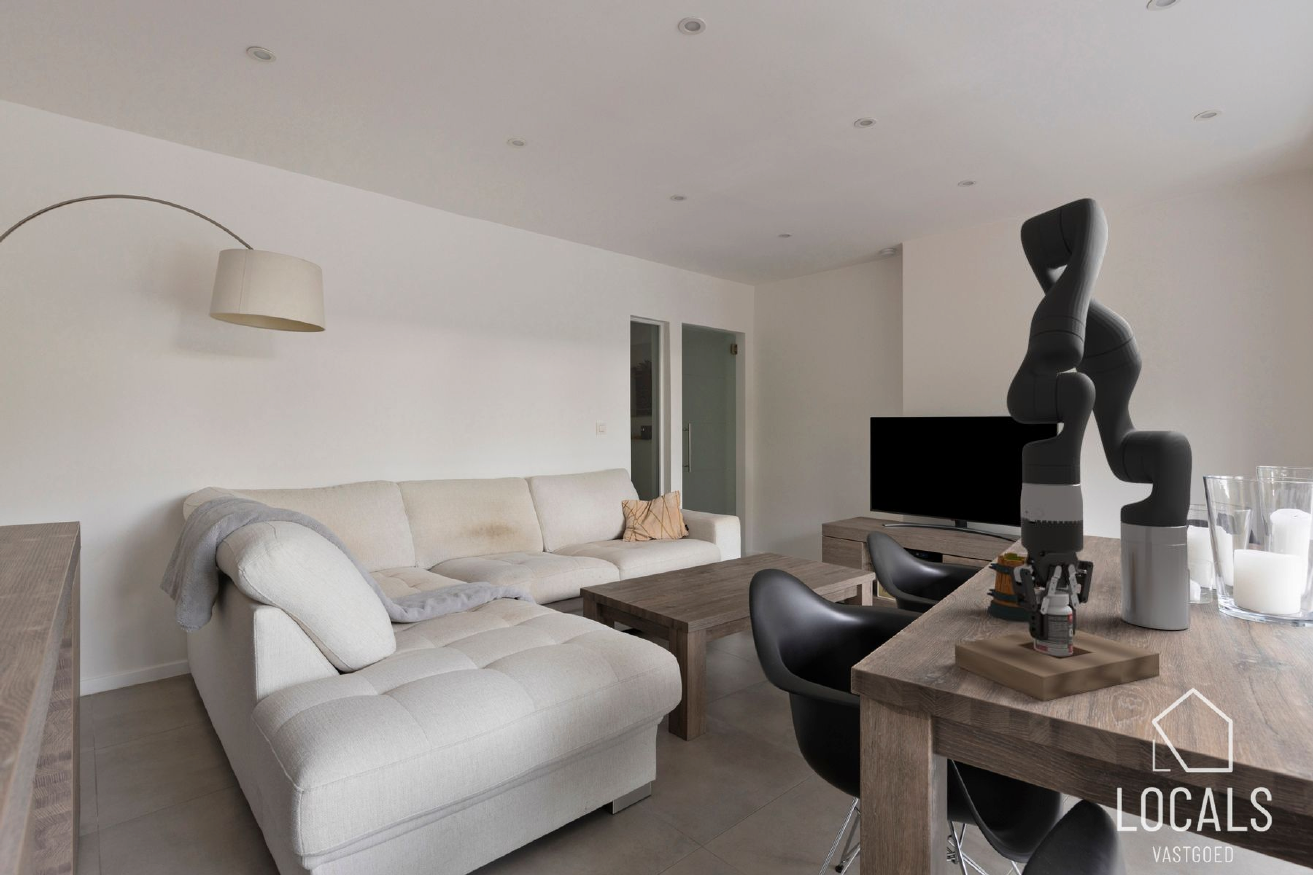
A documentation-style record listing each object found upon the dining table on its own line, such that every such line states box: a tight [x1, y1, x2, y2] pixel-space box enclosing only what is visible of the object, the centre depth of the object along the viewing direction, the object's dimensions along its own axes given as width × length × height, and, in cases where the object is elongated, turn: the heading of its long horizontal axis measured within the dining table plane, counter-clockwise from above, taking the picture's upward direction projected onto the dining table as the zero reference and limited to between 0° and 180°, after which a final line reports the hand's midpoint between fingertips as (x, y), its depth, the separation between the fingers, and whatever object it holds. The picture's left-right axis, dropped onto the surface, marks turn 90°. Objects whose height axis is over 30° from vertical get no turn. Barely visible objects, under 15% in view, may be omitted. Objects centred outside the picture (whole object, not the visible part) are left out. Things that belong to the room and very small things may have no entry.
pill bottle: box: [1034, 588, 1073, 656], centre depth 92 cm, size 5×5×8 cm
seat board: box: [954, 629, 1160, 702], centre depth 92 cm, size 22×14×3 cm, turn 111°
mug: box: [986, 551, 1041, 623], centre depth 119 cm, size 13×10×12 cm
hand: (1052, 635), depth 92 cm, fingers closed on pill bottle, 4 cm apart
